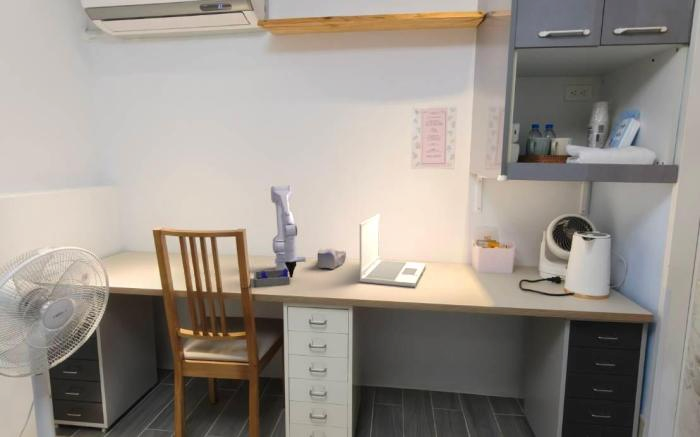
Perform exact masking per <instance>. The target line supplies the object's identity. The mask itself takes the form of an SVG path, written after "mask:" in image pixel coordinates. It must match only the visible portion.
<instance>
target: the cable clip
mask: <svg viewBox="0 0 700 437" xmlns="http://www.w3.org/2000/svg"><path fill="white" fill-rule="evenodd" d="M260 271H261V279H263V278H268V277H267V276H266V274H265V271H266V270H260ZM278 277H289V271H288V270H287V268H286V269H283V273H282V274H281V275H280V276H278ZM275 278H277V277H275Z"/></svg>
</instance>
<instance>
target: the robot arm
mask: <svg viewBox="0 0 700 437" xmlns="http://www.w3.org/2000/svg"><path fill="white" fill-rule="evenodd" d="M292 193H293V192H292V187H291V186H290V185H282V186H281V185H280V186H279V185H277V186H271V187H270V200H271V202H272V203H273V204H274V205H275V212H276V214H275V215H276V226H277V234H276V236H275V237H273V238H272V251H273V253H274V254H275V259H274V264H275V265H276V266H274V268H275V270H282V269H286V268H287V270H288V277H289V279H290V278H293V276H294V272H295V269H296V267H297V263H303V262H304V263H306V262H307V258H306V257H305V256H297V236H298V226H297V224H296V222H295V219H294V216H293V215H294V214H293V212H292V211H291V210H290V205H289V204H290V203H289V202H290V200H291V197H292Z"/></svg>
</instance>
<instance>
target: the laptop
mask: <svg viewBox="0 0 700 437" xmlns="http://www.w3.org/2000/svg"><path fill="white" fill-rule="evenodd" d="M380 216H381V215H380V213H378V214H376V215H375V216H373V217H371V218H368V219H366V220H365V221H363V222H361V223H360V224H359V282H360V283H365V284H368V283H369V284H375V285H376V284H378V285H388V286H395V287H396V286H399V287H408V288H415V287H416V286H417V284H418V281H419V279H420V278H421V275H422V274H423V272H424V270H425V269H426V264H427V263H421V262H411V261H398V260H397V261H396V260H385V259H380V233H381V232H380V231H381V230H380V229H381V228H380V227H381V225H380V224H381V223H380Z"/></svg>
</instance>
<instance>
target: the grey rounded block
mask: <svg viewBox="0 0 700 437" xmlns="http://www.w3.org/2000/svg"><path fill="white" fill-rule="evenodd" d="M346 255H347V252H346V251H344V250H337V249H336V248H327V249H319V250H318V252H317V264H318V267H319V268H320V269H323V268H324V269H331V270H334V269H336V268H338V267H340V266H342V265H343V264H344V263H345V262H346V259H347V256H346Z"/></svg>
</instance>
